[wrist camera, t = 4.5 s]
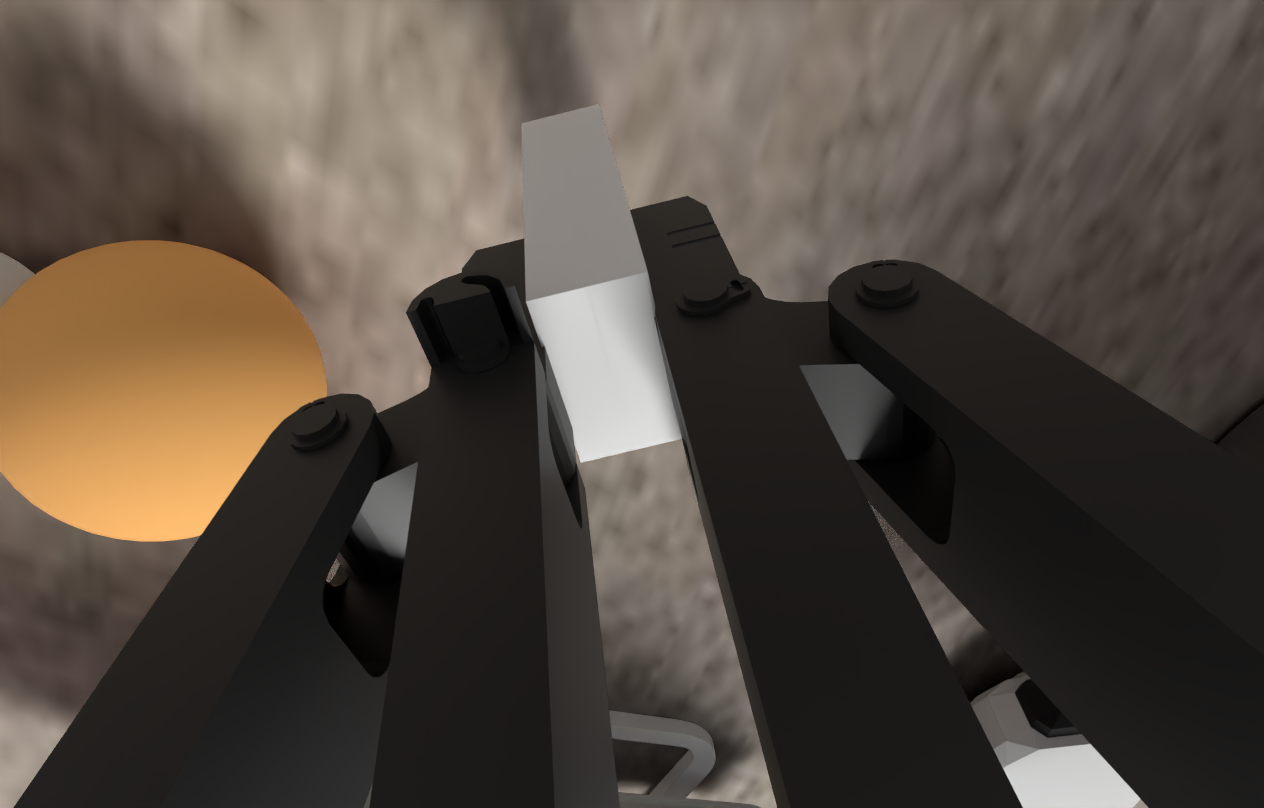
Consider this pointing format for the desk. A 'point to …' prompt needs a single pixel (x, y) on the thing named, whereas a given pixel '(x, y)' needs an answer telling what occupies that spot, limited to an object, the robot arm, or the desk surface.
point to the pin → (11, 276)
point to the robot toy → (1046, 751)
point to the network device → (669, 796)
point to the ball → (146, 385)
